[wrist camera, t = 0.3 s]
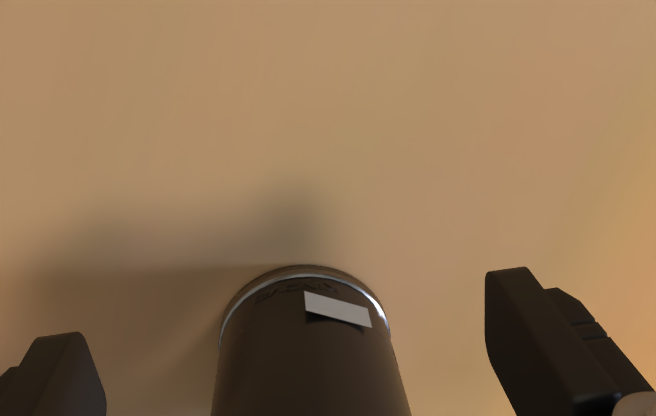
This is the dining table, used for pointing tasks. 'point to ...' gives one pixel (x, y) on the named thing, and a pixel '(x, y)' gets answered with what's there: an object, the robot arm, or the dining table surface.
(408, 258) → the dining table surface
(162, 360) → the dining table surface
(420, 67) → the dining table surface
